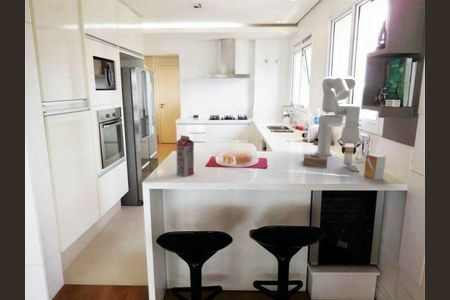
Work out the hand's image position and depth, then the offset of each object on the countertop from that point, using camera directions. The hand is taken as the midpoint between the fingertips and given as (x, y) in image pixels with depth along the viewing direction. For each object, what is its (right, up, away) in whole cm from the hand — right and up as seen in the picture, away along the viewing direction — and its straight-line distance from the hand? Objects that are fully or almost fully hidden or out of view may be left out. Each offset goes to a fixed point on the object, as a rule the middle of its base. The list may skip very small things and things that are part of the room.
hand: (348, 153), depth 182 cm
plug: (0, -7, +1) cm, 7 cm away
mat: (0, -10, +2) cm, 10 cm away
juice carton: (-101, -12, -21) cm, 104 cm away
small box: (+7, -14, -17) cm, 23 cm away
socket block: (-19, -8, +7) cm, 22 cm away
